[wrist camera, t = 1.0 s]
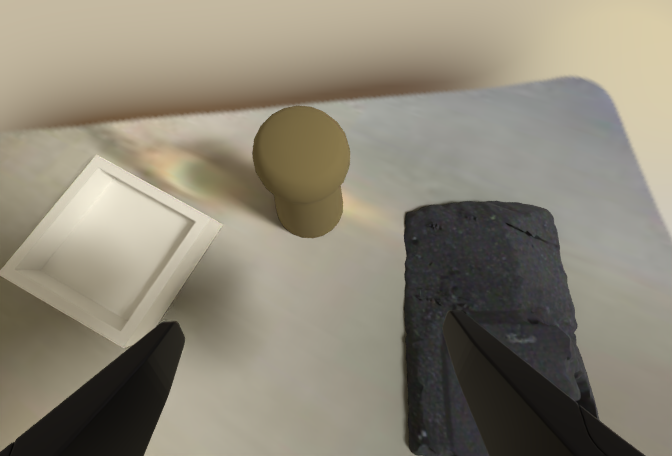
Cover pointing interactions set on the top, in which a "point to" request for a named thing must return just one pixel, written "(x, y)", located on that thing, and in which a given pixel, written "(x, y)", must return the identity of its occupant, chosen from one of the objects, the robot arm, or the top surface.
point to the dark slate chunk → (483, 310)
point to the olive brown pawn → (303, 168)
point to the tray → (112, 252)
